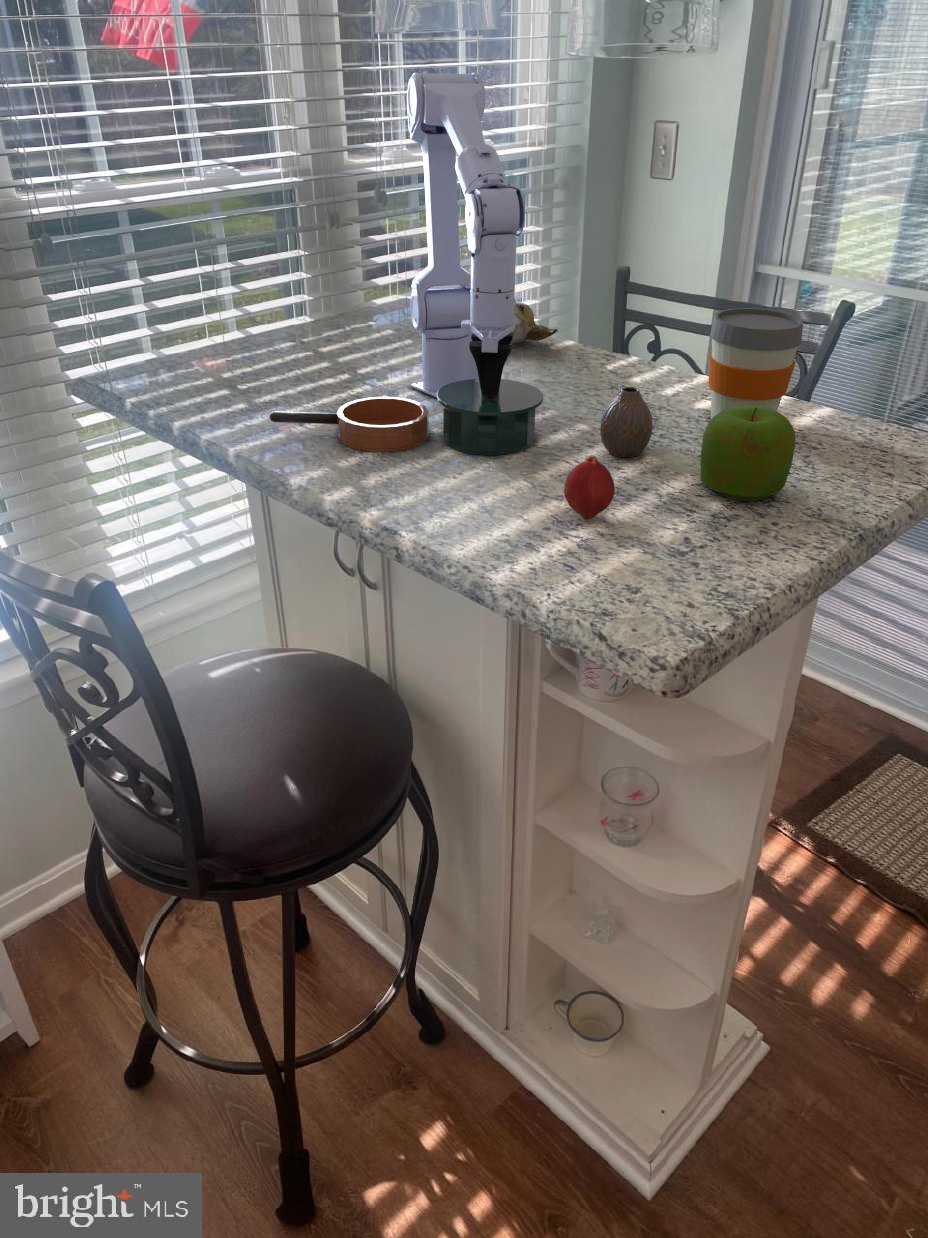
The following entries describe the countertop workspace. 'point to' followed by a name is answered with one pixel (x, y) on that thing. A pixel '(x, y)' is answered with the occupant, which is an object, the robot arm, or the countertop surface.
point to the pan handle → (304, 417)
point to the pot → (488, 432)
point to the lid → (490, 398)
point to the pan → (383, 424)
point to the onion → (589, 488)
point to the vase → (626, 424)
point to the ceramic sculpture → (527, 325)
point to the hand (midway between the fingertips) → (490, 390)
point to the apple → (747, 452)
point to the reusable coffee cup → (752, 357)
